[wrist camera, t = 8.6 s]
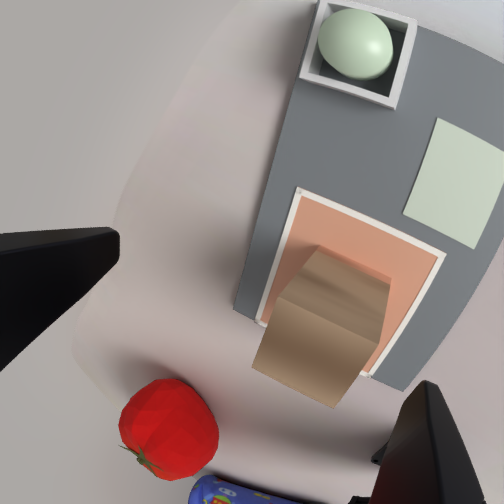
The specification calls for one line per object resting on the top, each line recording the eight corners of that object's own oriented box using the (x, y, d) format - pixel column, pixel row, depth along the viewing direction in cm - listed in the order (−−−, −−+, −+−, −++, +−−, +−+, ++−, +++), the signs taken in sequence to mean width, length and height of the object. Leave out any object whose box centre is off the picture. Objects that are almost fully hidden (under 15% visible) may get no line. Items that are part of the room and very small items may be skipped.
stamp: (359, 336, 21) (333, 408, 15) (295, 306, 23) (251, 367, 17) (391, 278, 19) (378, 344, 13) (320, 244, 20) (277, 296, 14)
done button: (384, 90, 14) (381, 84, 12) (320, 70, 15) (310, 63, 14) (399, 32, 12) (398, 20, 11) (335, 14, 14) (327, 2, 12)
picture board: (403, 386, 21) (399, 410, 19) (236, 305, 26) (219, 321, 24) (547, 95, 10) (565, 91, 8) (320, 2, 15) (307, -13, 13)
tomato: (221, 374, 30) (157, 445, 22) (243, 449, 34) (198, 510, 25) (142, 352, 35) (81, 402, 27) (172, 424, 39) (127, 472, 31)
